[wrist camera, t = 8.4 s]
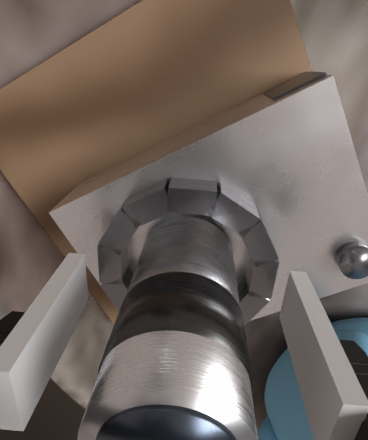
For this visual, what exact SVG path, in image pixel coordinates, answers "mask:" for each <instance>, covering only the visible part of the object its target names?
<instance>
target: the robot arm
mask: <svg viewBox="0 0 368 440" xmlns="http://www.w3.org/2000/svg"><path fill="white" fill-rule="evenodd" d="M88 301H89V296H88V285H87V273H86V261H85V254H79V253H68V255H67V256H66V257H65V259H64V260H63V262H62V263H61V264H60V266H59V267H58V268H57V270H56V271H55V272H54V274H53V275H52V277H51V278H50V279H49V281H48V282H47V283H46V285H45V286H44V287H43V289H42V290H41V292H40V293H39V294H38V296H37V297H36V298H35V300H34V301H33V303H32V304H31V305H30V307H29V308H28V309H27V311H26V312H14V311H12V312H11V313H9V314H8V315H7V316H5V317H4V318H2V319H1V320H0V429H7V430H17V431H24V429H25V427H26V425H27V423H28V421H29V419H30V417H31V415H32V413H33V411H34V409H35V407H36V405H37V403H38V401H39V399H40V397H41V395H42V393H43V391H44V389H45V387H46V385H47V383H48V381H49V379H50V377H51V375H52V373H53V371H54V369H55V367H56V365H57V363H58V361H59V359H60V357H61V355H62V353H63V351H64V349H65V347H66V345H67V343H68V341H69V339H70V337H71V335H72V333H73V331H74V329H75V327H76V325H77V323H78V321H79V319H80V317H81V315H82V313H83V311H84V309H85V307H86V305H87V303H88ZM279 318H280V322H281V325H282V329H283V332H284V336H285V339H286V343H287V346H288V350H289V353H290V357H291V360H292V364H293V367H294V371H295V374H296V378H297V381H298V385H299V388H300V392H301V395H302V399H303V402H304V406H305V409H306V413H307V416H308V420H309V423H310V427H311V430H312V434H313V437H314V440H368V356H367V354H366V352H365V351H364V350H363V349H362V348H361V347H360V346H359V345H358V344H357V343H356V342H355V341H351V340H339V339H338V337H337V335H336V333H335V331H334V329H333V327H332V325H331V322H330V320H329V318H328V316H327V314H326V312H325V310H324V308H323V306H322V304H321V302H320V300H319V297H318V295H317V293H316V291H315V289H314V287H313V285H312V283H311V281H310V279H309V277H308V274H307V272H297V271H290V272H289V276H288V281H287V285H286V289H285V294H284V298H283V302H282V306H281V311H280V315H279Z"/></svg>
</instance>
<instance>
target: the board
mask: <svg viewBox="0 0 368 440" xmlns="http://www.w3.org/2000/svg"><path fill="white" fill-rule="evenodd" d="M306 71H309V72H312V70H311V67H310V64H309V60H308V57H307V54H306V51H305V47H304V44H303V41H302V38H301V34H300V31H299V28H298V25H297V21H296V18H295V15H294V12H293V9H292V5H291V2H290V0H142V1H141V2H139V3H137V4H136V5H134V6H133V7H131V8H129V9H128V10H126V11H125V12H123V13H121V14H120V15H118V16H117V17H115V18H113V19H112V20H110V21H109V22H107V23H105V24H104V25H102V26H101V27H99V28H97V29H96V30H94V31H93V32H91V33H89V34H88V35H86V36H85V37H83V38H81V39H80V40H78V41H76V42H75V43H73V44H72V45H70V46H68V47H67V48H65V49H64V50H62V51H60V52H59V53H57V54H56V55H54V56H52V57H51V58H49V59H48V60H46V61H44V62H43V63H41V64H40V65H38V66H36V67H35V68H33V69H32V70H30V71H28V72H27V73H25V74H24V75H22V76H20V77H19V78H17V79H16V80H14V81H12V82H11V83H9V84H8V85H6V86H4V87H3V88H1V89H0V170H1V172H2V173H3V174H4V176H5V177H6V178H7V180H8V181H9V182H10V184H11V185H12V187H13V188H14V189H15V191H16V192H17V193H18V195H19V196H20V197H21V199H22V200H23V202H24V203H25V204H26V206H27V207H28V208H29V210H30V211H31V212H32V214H33V215H34V216H35V218H36V219H37V221H38V222H39V223H40V225H41V226H42V227H43V229H44V230H45V231H46V233H47V234H48V236H49V237H50V238H51V240H52V241H53V242H54V244H55V245H56V246H57V248H58V249H59V251H60V252H61V253H62V255H63V256H64V257H66V256H67V255H68V253H77V252H76V250H75V249H74V248H73V246H72V245H71V243H70V242H69V241H68V239H67V238H66V236H65V235H64V234H63V232H62V231H61V229H60V228H59V227H58V225H57V224H56V222H55V221H54V220H53V218H52V217H51V215H50V214H49V212H50V211H51V210H52V209H53V208H54V207H55V206H56V205H57V204H58V203H59V202H61V201H62V200H63V199H64V198H65V197H66V196H67V195H68V194H69V193H70V192H71V191H72V190H73V189H74V188H75V187H77V186H78V185H79V184H80V183H81V182H82V181H85V180H87V179H89V178H91V177H93V176H95V175H97V174H99V173H101V172H103V171H105V170H107V169H109V168H111V167H113V166H115V165H117V164H119V163H121V162H123V161H125V160H127V159H129V158H131V157H133V156H135V155H137V154H139V153H141V152H143V151H145V150H147V149H149V148H151V147H153V146H155V145H157V144H159V143H161V142H163V141H165V140H167V139H169V138H171V137H173V136H175V135H177V134H179V133H181V132H183V131H185V130H188V129H190V128H192V127H194V126H196V125H198V124H200V123H202V122H204V121H206V120H208V119H210V118H212V117H214V116H216V115H218V114H220V113H222V112H224V111H226V110H228V109H230V108H232V107H234V106H236V105H238V104H240V103H242V102H244V101H246V100H248V99H250V98H252V97H254V96H256V95H258V94H260V93H262V92H264V91H266V90H268V89H270V88H272V87H274V86H276V85H278V84H280V83H282V82H284V81H286V80H289V79H291V78H293V77H295V76H297V75H299V74H301V73H304V72H306ZM86 273H87V285H88V290H89V291H90V293H91V294H92V295H93V297H94V298H95V300H96V301H97V302H98V304H99V305H100V306H101V308H102V309H103V310H104V312H105V313H106V315H107V316H108V317H109V319H110V320H111V321H112V323H113V324H115V321H116V319H117V316H118V313H119V311H118V310H117V308H116V307H115V306H114V304H113V303H112V301H111V300H110V299H109V297H108V296H107V294H106V293H105V292H104V290H103V289H102V287H101V286H100V284H99V283H98V281H97V280H96V279H95V277H94V276H93V274H92V273H91V272H90V270H89V269H88V267H87V266H86Z"/></svg>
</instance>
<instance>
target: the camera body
mask: <svg viewBox="0 0 368 440" xmlns="http://www.w3.org/2000/svg"><path fill="white" fill-rule="evenodd" d="M49 214H50V215H51V217H52V218H53V220H54V221H55V222H56V224H57V225H58V227H59V228H60V229H61V231H62V232H63V234H64V235H65V236H66V238H67V239H68V241H69V242H70V243H71V245H72V246H73V248H74V249H75V250H76V252H77V253H79V254H85V261H86V266H87V267H88V269H89V270H90V272H91V273H92V274H93V276H94V277H95V279H96V280H97V281H98V283H99V284H100V286H101V287H102V289H103V290H104V292H105V293H106V294H107V296H108V297H109V299H110V300H111V301H112V303H113V304H114V306H115V307H116V308H117V310H118V311H119V310H120V307H121V305H122V302H123V300H124V298H125V296H126V294H127V291H128V288H129V285H130V283H131V280H132V277H133V274H134V271H135V268H136V266H137V263H138V260H139V257H140V254H141V251H142V248H143V246H144V243H145V241H146V239H147V237H148V235H149V234H150V233H151V232H152V231H153V230H154V229H155V228H156V227H157V226H159V225H160V224H162V223H164V222H166V221H169V220H171V219H175V218H183V217H190V218H197V219H201V220H204V221H207V222H209V223H211V224H213V225H214V226H216V227H217V228H218V229H220V230H221V231H222V232H223V233H224V235H225V236H226V237H227V239H228V240H229V242H230V244H231V247H232V251H233V257H234V265H235V272H236V279H237V287H238V294H239V302H240V309H241V311H242V315H243V322H244V326H245V325H246V324H247V323H248V322H249V321H251V320H254V319H257V318H260V317H263V316H267V315H270V314H273V313H276V312H279V311H281V306H282V302H283V298H284V294H285V289H286V285H287V281H288V276H289V272H290V271H297V272H307V274H308V277H309V279H310V281H311V283H312V285H313V287H314V289H315V291H316V293H317V295H318V297H319V298H322V297H325V296H329V295H332V294H335V293H338V292H341V291H344V290H347V289H350V288H353V287H356V286H360V285H363V284H366V283H368V195H367V191H366V188H365V184H364V181H363V177H362V174H361V170H360V167H359V163H358V160H357V156H356V153H355V149H354V146H353V142H352V139H351V135H350V132H349V128H348V125H347V121H346V118H345V114H344V111H343V107H342V104H341V100H340V97H339V93H338V90H337V86H336V83H335V80H334V76H333V75H326V73H323V72H309V71H306V72H304V73H301V74H299V75H297V76H295V77H293V78H291V79H289V80H286V81H284V82H282V83H280V84H278V85H276V86H274V87H272V88H270V89H268V90H266V91H264V92H262V93H260V94H258V95H256V96H254V97H252V98H250V99H248V100H246V101H244V102H242V103H240V104H238V105H236V106H234V107H232V108H230V109H228V110H226V111H224V112H222V113H220V114H218V115H216V116H214V117H212V118H210V119H208V120H206V121H204V122H202V123H200V124H198V125H196V126H194V127H192V128H190V129H188V130H185V131H183V132H181V133H179V134H177V135H175V136H173V137H171V138H169V139H167V140H165V141H163V142H161V143H159V144H157V145H155V146H153V147H151V148H149V149H147V150H145V151H143V152H141V153H139V154H137V155H135V156H133V157H131V158H129V159H127V160H125V161H123V162H121V163H119V164H117V165H115V166H113V167H111V168H109V169H107V170H105V171H103V172H101V173H99V174H97V175H95V176H93V177H91V178H89V179H87V180H85V181H82V182H81V183H80V184H79V185H78V186H77V187H75V188H74V189H73V190H72V191H71V192H70V193H69V194H68V195H67V196H66V197H65V198H64V199H63V200H62V201H61V202H59V203H58V204H57V205H56V206H55V207H54V208H53V209H52V210H51V211H50V212H49Z"/></svg>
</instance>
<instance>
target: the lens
mask: <svg viewBox="0 0 368 440" xmlns="http://www.w3.org/2000/svg"><path fill="white" fill-rule="evenodd" d="M78 440H258V435H257V427H256V420H255V413H254V405H253V398H252V379H251V372H250V364H249V357H248V350H247V343H246V336H245V329H244V322H243V315H242V311H241V309H240V302H239V294H238V287H237V279H236V272H235V265H234V257H233V251H232V247H231V244H230V242H229V240H228V239H227V237H226V236H225V235H224V233H223V232H222V231H221V230H220V229H218V228H217V227H216V226H214V225H213V224H211V223H209V222H207V221H204V220H201V219H197V218H190V217H183V218H175V219H171V220H169V221H166V222H164V223H162V224H160V225H159V226H157V227H156V228H155V229H154V230H153V231H152V232H151V233H150V234H149V235H148V237H147V239H146V241H145V243H144V246H143V248H142V251H141V254H140V257H139V260H138V263H137V266H136V268H135V271H134V274H133V277H132V280H131V283H130V285H129V288H128V291H127V294H126V296H125V298H124V300H123V302H122V305H121V307H120V310H119V313H118V316H117V319H116V321H115V324H114V327H113V330H112V333H111V335H110V338H109V341H108V344H107V347H106V349H105V352H104V355H103V358H102V361H101V363H100V366H99V370H98V377H97V379H96V382H95V385H94V388H93V391H92V394H91V397H90V399H89V402H88V405H87V408H86V411H85V414H84V416H83V419H82V422H81V425H80V428H79V432H78Z"/></svg>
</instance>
